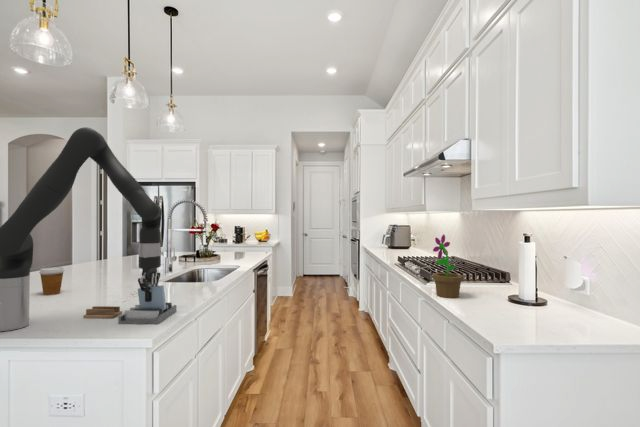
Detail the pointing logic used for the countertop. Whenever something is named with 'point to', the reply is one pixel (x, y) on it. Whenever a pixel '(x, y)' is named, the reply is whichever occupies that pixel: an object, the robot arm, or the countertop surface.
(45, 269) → the disposable coffee cup
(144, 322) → the dish rack
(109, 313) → the plate stand
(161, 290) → the plate
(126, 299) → the scissors
